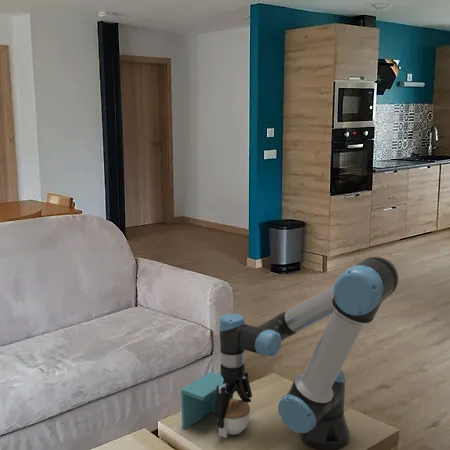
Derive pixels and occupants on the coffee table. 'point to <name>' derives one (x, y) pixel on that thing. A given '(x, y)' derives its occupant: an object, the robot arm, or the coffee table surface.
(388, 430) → the coffee table surface
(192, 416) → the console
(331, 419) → the robot arm
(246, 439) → the coffee table surface
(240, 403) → the lidded jar
